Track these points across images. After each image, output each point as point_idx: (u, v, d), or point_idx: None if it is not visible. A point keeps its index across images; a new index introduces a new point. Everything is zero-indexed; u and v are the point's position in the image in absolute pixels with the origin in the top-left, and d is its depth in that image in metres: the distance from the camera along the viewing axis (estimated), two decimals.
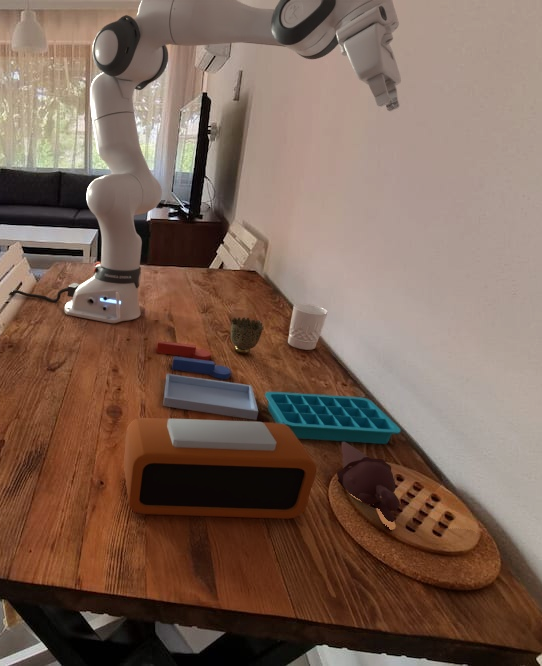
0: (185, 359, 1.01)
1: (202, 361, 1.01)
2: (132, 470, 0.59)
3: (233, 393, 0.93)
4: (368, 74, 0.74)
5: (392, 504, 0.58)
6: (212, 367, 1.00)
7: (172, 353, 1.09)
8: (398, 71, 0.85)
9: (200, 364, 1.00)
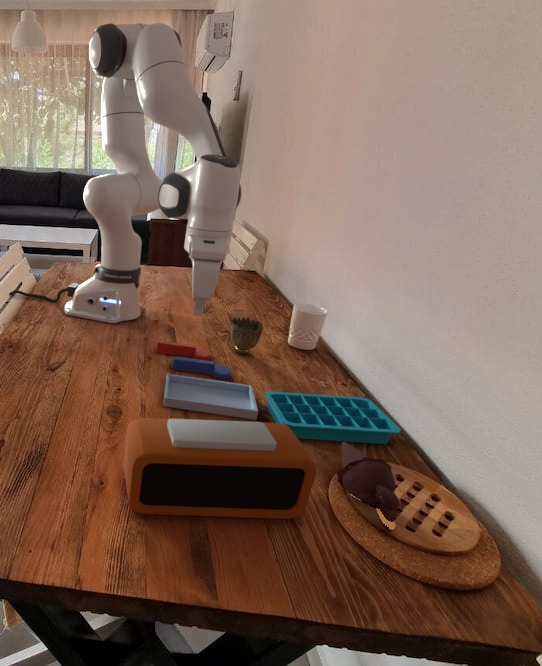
0: (185, 359, 1.01)
1: (202, 361, 1.01)
2: (132, 470, 0.59)
3: (233, 393, 0.93)
4: (200, 299, 0.86)
5: (392, 504, 0.58)
6: (212, 367, 1.00)
7: (172, 353, 1.09)
8: None
9: (200, 364, 1.00)
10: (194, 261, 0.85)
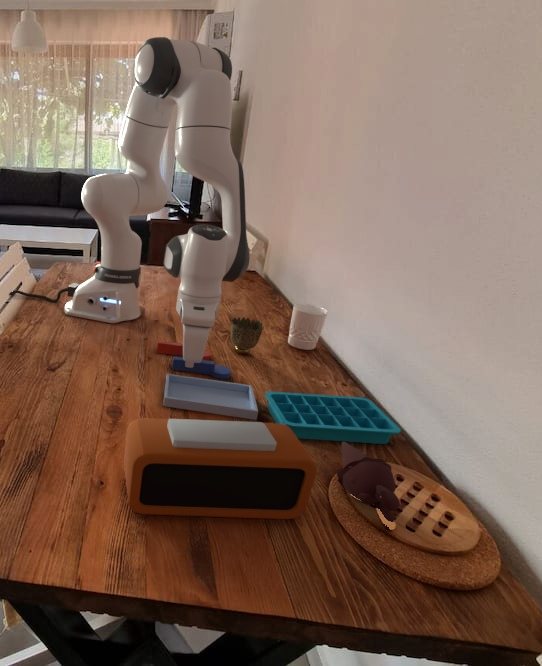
0: None
1: (202, 361, 1.01)
2: (132, 470, 0.59)
3: (233, 393, 0.93)
4: (190, 361, 0.91)
5: (392, 504, 0.58)
6: (212, 367, 1.00)
7: (172, 353, 1.09)
8: None
9: (200, 364, 1.00)
10: (185, 327, 0.90)
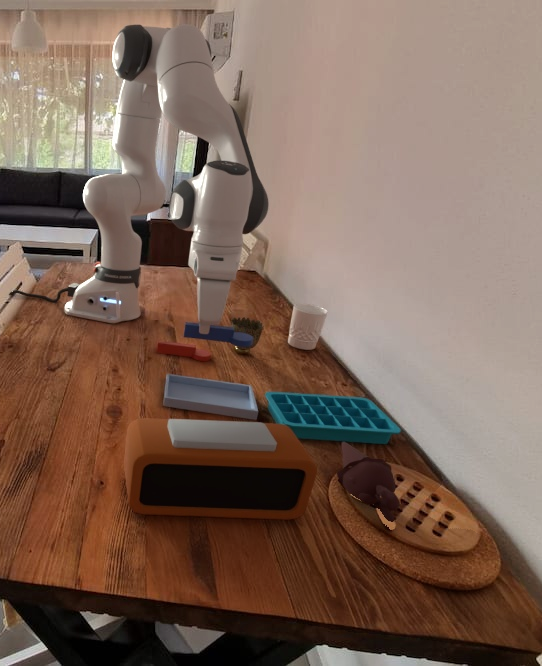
0: (199, 324, 0.87)
1: (219, 327, 0.86)
2: (132, 470, 0.59)
3: (233, 393, 0.93)
4: (207, 323, 0.76)
5: (392, 504, 0.58)
6: (231, 333, 0.85)
7: (172, 353, 1.09)
8: None
9: (217, 330, 0.85)
10: (200, 281, 0.75)
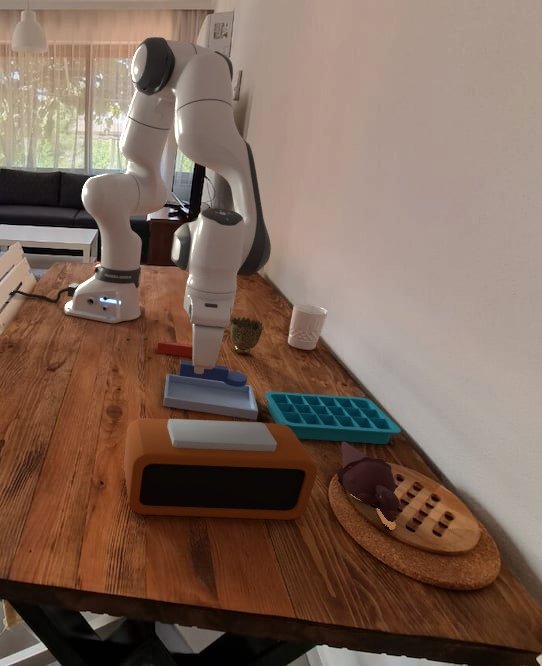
0: None
1: (214, 366, 0.88)
2: (132, 470, 0.59)
3: (233, 393, 0.93)
4: (201, 367, 0.78)
5: (392, 504, 0.58)
6: (225, 373, 0.87)
7: (172, 353, 1.09)
8: None
9: (211, 370, 0.87)
10: (195, 327, 0.77)
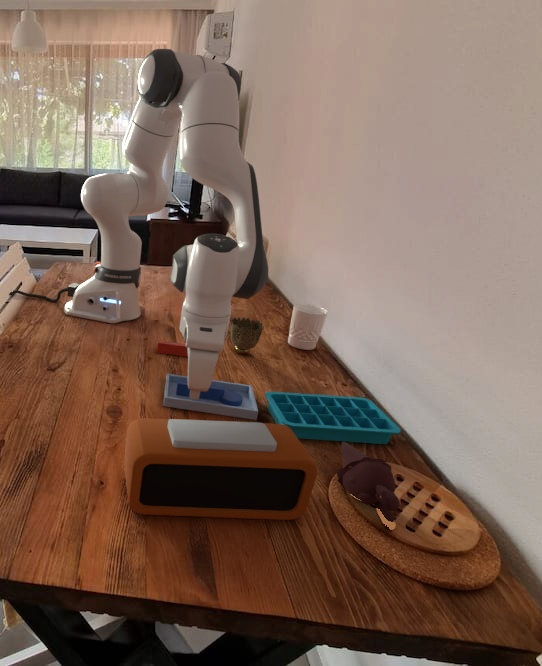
0: None
1: (210, 386, 0.89)
2: (132, 470, 0.59)
3: None
4: (196, 390, 0.80)
5: (392, 504, 0.58)
6: (221, 393, 0.89)
7: (172, 353, 1.09)
8: None
9: (208, 389, 0.89)
10: (190, 351, 0.79)
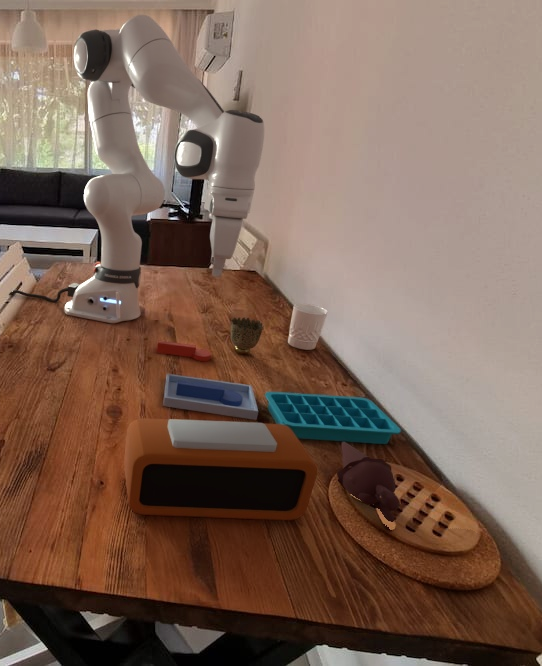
0: (191, 383, 0.90)
1: (210, 386, 0.89)
2: (132, 471, 0.59)
3: None
4: (220, 257, 0.85)
5: (392, 504, 0.58)
6: (221, 393, 0.89)
7: (172, 353, 1.09)
8: None
9: (208, 389, 0.89)
10: (215, 218, 0.84)
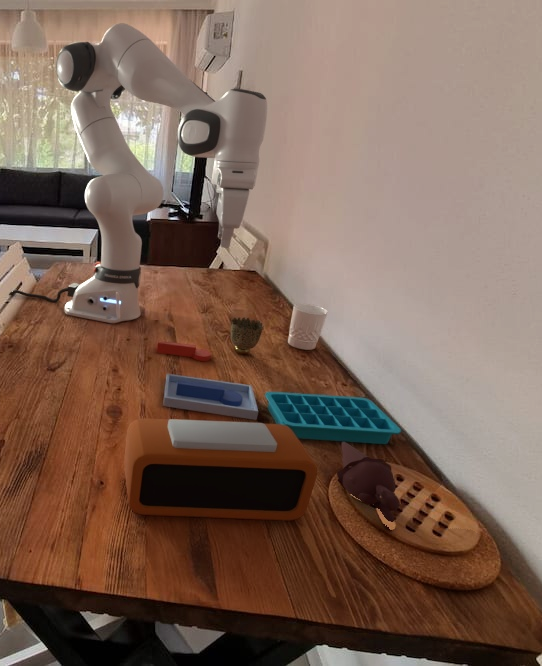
0: (191, 383, 0.90)
1: (210, 386, 0.89)
2: (132, 471, 0.59)
3: None
4: (228, 227, 0.90)
5: (392, 504, 0.58)
6: (221, 393, 0.89)
7: (172, 353, 1.09)
8: None
9: (208, 389, 0.89)
10: (223, 190, 0.88)
